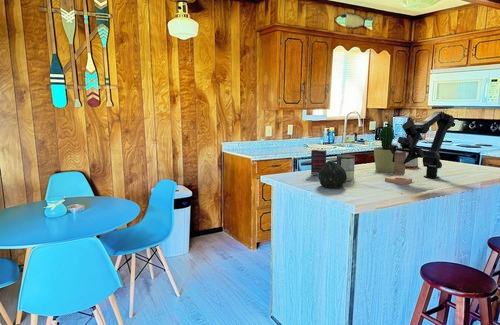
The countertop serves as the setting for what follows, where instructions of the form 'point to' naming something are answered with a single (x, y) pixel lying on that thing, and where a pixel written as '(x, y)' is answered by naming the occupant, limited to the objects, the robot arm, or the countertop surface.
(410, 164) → the knit hat
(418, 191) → the countertop surface
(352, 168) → the coffee can
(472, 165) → the countertop surface
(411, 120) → the robot arm
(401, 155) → the walnut block
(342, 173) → the squash
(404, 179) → the top slab
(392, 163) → the potted cactus
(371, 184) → the countertop surface
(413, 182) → the bottom slab
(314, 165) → the supplement box
